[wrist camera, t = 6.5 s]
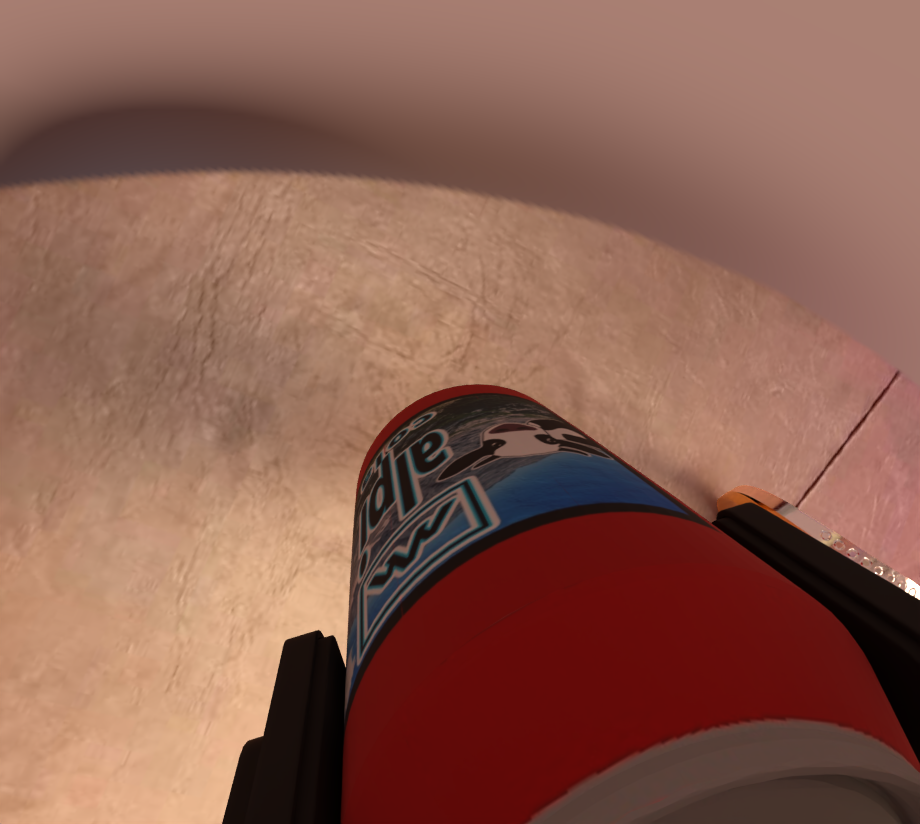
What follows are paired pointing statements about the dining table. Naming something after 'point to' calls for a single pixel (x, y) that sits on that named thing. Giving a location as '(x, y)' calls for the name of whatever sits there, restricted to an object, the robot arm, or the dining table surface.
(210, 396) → the dining table surface
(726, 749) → the beverage can
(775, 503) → the ring
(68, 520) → the dining table surface
